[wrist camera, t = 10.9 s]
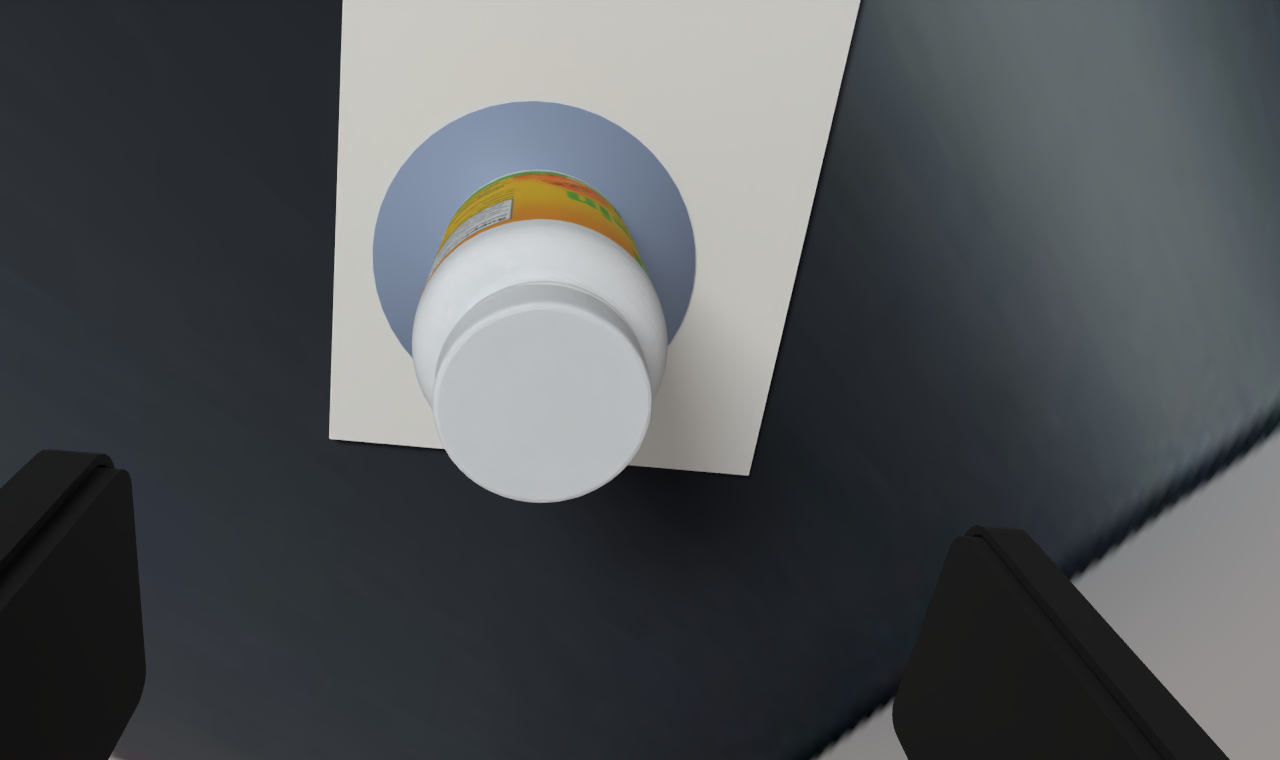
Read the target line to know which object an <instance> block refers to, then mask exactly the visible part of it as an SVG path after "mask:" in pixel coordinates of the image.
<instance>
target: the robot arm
mask: <svg viewBox="0 0 1280 760" xmlns="http://www.w3.org/2000/svg"><path fill="white" fill-rule="evenodd" d="M145 676H146V663H145V651H144V638H143V625H142V612H141V599H140V586H139V573H138V560H137V547H136V534H135V521H134V509H133V496H132V484H131V478H130V475H129V473H128V472H127V471H126V470H124V469H114V465H113V462H112V460H111V458H110V457H109V456H107V455H106V454H98V453H86V452H74V451H62V450H42V451H41V452H39V453H38V454H36V455H35V456H34V457H33V458H32V459H31V460H30V461H29V462H28V463H27V464H26V465H25V466H24V467H23V468H22V469H21V470H19V471H18V472H17V473H16V474H15V475H14V476H13V477H12V478H11V479H10V480H9V481H8V482H7V483H6V484H5V485H4V486H3V487H2V488H1V489H0V760H108V759H109V757H110V755H111V753H112V751H113V750H114V748H115V746H116V744H117V742H118V740H119V738H120V737H121V735H122V733H123V731H124V729H125V727H126V726H127V724H128V722H129V720H130V718H131V716H132V715H133V713H134V711H135V709H136V707H137V705H138V703H139V701H140V698H141V695H142V692H143V687H144V683H145ZM892 716H893V725H894V729H895V732H896V735H897V737H898V739H899V741H900V743H901V745H902V747H903V749H904V751H905V754H906V756H907V758H908V760H1229V758H1228V757H1227V756H1226V755H1225V754H1224V753H1223V752H1222V750H1221V749H1220V748H1219V747H1218V746H1217V745H1216V744H1215V743H1214V741H1213V740H1212V739H1211V738H1210V737H1209V736H1208V735H1207V734H1206V732H1205V731H1204V730H1203V729H1202V728H1201V727H1200V726H1199V725H1198V724H1197V723H1196V721H1195V720H1194V719H1193V718H1192V717H1191V716H1190V715H1189V713H1187V711H1186V710H1185V709H1184V708H1183V707H1182V706H1181V705H1180V703H1179V702H1178V701H1177V700H1176V699H1175V698H1174V697H1173V696H1172V694H1171V693H1170V692H1169V691H1168V690H1167V689H1166V688H1165V687H1164V686H1163V684H1162V683H1161V682H1160V681H1159V680H1158V679H1157V678H1156V677H1155V676H1154V674H1153V673H1152V672H1151V671H1150V670H1149V669H1148V668H1147V667H1146V665H1145V664H1144V663H1143V662H1142V661H1141V660H1140V659H1139V658H1138V657H1137V655H1136V654H1135V653H1134V652H1133V651H1132V650H1131V649H1130V648H1129V646H1127V644H1126V643H1125V642H1124V641H1123V640H1122V639H1121V638H1120V637H1119V635H1118V634H1117V633H1116V632H1115V631H1114V630H1113V629H1112V627H1111V626H1110V625H1109V624H1108V623H1107V622H1106V621H1105V620H1104V619H1103V617H1102V616H1101V615H1100V614H1099V613H1098V612H1097V611H1096V610H1095V609H1094V607H1093V606H1092V605H1091V604H1090V603H1089V602H1088V601H1087V600H1086V599H1085V597H1084V596H1083V595H1082V594H1081V593H1080V592H1079V591H1078V590H1077V588H1076V587H1075V586H1074V585H1073V584H1072V583H1071V582H1070V581H1069V579H1068V578H1067V577H1066V576H1065V575H1064V574H1063V573H1062V572H1061V570H1060V569H1059V568H1058V567H1057V566H1056V565H1055V564H1054V563H1053V562H1052V560H1051V559H1050V558H1049V557H1048V556H1047V555H1046V554H1045V553H1044V551H1043V550H1042V549H1041V548H1040V547H1039V546H1038V545H1037V544H1036V543H1035V541H1034V540H1033V539H1032V538H1031V537H1030V536H1029V535H1028V534H1027V533H1026V532H1024V531H1023V530H1020V529H1014V528H1002V527H990V526H978V525H976V526H974V527H971V528H970V529H969V530H968V531H967V532H966V533H965V535H964V536H960V537H957V538H956V539H955V540H954V541H953V542H952V544H951V546H950V549H949V552H948V554H947V557H946V560H945V563H944V565H943V568H942V571H941V574H940V576H939V579H938V582H937V584H936V587H935V590H934V593H933V595H932V598H931V601H930V604H929V606H928V609H927V612H926V615H925V617H924V620H923V623H922V626H921V628H920V631H919V634H918V637H917V639H916V642H915V645H914V648H913V650H912V653H911V656H910V659H909V661H908V664H907V667H906V670H905V672H904V675H903V678H902V681H901V683H900V686H899V689H898V691H897V694H896V697H895V700H894V704H893V711H892Z"/></svg>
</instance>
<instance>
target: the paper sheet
mask: <svg viewBox="0 0 1280 760" xmlns="http://www.w3.org/2000/svg"><path fill="white" fill-rule="evenodd" d="M859 5H860V0H343V11H342V42H341V74H340V106H339V138H338V170H337V202H336V234H335V266H334V298H333V330H332V362H331V394H330V425H329V439H336V440H347V441H359V442H370V443H381V444H393V445H404V446H416V447H427V448H439V449H445V448H444V447H443V445H442V443H441V441H440V438H439V436H438V433H437V430H436V427H435V423H434V417H433V410H432V409H431V407H430V405H429V404H428V402H427V400H426V399H425V397H424V395H423V393H422V390H421V388H420V386H419V383H418V380H417V377H416V373H415V369H414V363H413V356H412V333H413V325H414V319H415V314H416V310H417V307H418V303H419V300H420V298H421V295H422V293H423V290H424V287H425V285H426V282H427V279H428V276H429V273H430V271H431V268H432V265H433V262H434V259H435V257H436V254H437V251H438V249H439V246H440V244H441V241H442V238H443V236H444V233H445V231H446V229H447V227H448V225H449V222H450V220H451V219H452V217H453V216H454V214H455V213H456V211H457V210H458V208H459V207H460V206H461V205H462V203H463V202H464V201H465V200H466V199H467V198H468V197H469V196H470V195H471V194H472V193H474V192H475V191H476V190H478V189H479V188H481V187H482V186H484V185H485V184H487V183H489V182H490V181H492V180H494V179H496V178H499V177H501V176H504V175H506V174H510V173H513V172H518V171H524V170H537V169H538V170H550V171H557V172H561V173H564V174H567V175H571V176H573V177H576V178H578V179H580V180H582V181H584V182H586V183H588V184H589V185H591V186H592V187H594V188H595V189H597V190H598V191H599V192H601V193H602V194H603V195H604V196H605V197H606V198H607V199H608V200H609V201H610V202H611V203H612V205H613V206H614V207H615V208H616V210H617V211H618V212H619V214H620V216H621V217H622V219H623V220H624V222H625V224H626V226H627V228H628V229H629V232H630V234H631V237H632V239H633V241H634V243H635V246H636V248H637V250H638V253H639V255H640V257H641V260H642V262H643V264H644V266H645V268H646V271H647V273H648V275H649V277H650V280H651V282H652V284H653V286H654V288H655V291H656V293H657V296H658V298H659V300H660V304H661V307H662V310H663V314H664V318H665V322H666V327H667V337H668V349H667V360H666V367H665V371H664V376H663V379H662V382H661V385H660V388H659V390H658V392H657V394H656V396H655V398H654V400H653V409H652V416H651V421H650V425H649V428H648V432H647V434H646V436H645V439H644V441H643V443H642V445H641V447H640V449H639V451H638V452H637V453H636V455H635V456H634V458H633V459H632V461H631V462H630V463H629V464H628V465H633V466H644V467H656V468H667V469H678V470H690V471H701V472H713V473H724V474H736V475H747V476H749V472H750V468H751V464H752V459H753V455H754V451H755V447H756V442H757V438H758V434H759V430H760V425H761V421H762V417H763V413H764V408H765V404H766V400H767V396H768V391H769V387H770V383H771V379H772V374H773V370H774V366H775V362H776V357H777V353H778V349H779V345H780V340H781V336H782V332H783V328H784V323H785V319H786V315H787V311H788V306H789V302H790V298H791V294H792V289H793V285H794V281H795V277H796V272H797V268H798V264H799V260H800V255H801V251H802V247H803V243H804V238H805V234H806V230H807V226H808V221H809V217H810V213H811V209H812V204H813V200H814V196H815V192H816V187H817V183H818V179H819V175H820V170H821V166H822V162H823V158H824V153H825V149H826V145H827V141H828V136H829V132H830V128H831V124H832V119H833V115H834V111H835V107H836V102H837V98H838V94H839V90H840V85H841V81H842V77H843V73H844V68H845V64H846V60H847V56H848V51H849V47H850V43H851V39H852V34H853V30H854V26H855V22H856V17H857V13H858V9H859Z"/></svg>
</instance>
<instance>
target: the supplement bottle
mask: <svg viewBox="0 0 1280 760" xmlns="http://www.w3.org/2000/svg"><path fill="white" fill-rule="evenodd" d="M667 349H668V337H667V327H666V322H665V318H664V314H663V310H662V307H661V304H660V300H659V298H658V296H657V293H656V291H655V288H654V286H653V284H652V282H651V280H650V277H649V275H648V273H647V271H646V268H645V266H644V264H643V262H642V260H641V257H640V255H639V253H638V250H637V248H636V246H635V243H634V241H633V239H632V237H631V234H630V232H629V229H628V228H627V226H626V224H625V222H624V220H623V219H622V217H621V216H620V214H619V212H618V211H617V210H616V208H615V207H614V206H613V205H612V203H611V202H610V201H609V200H608V199H607V198H606V197H605V196H604V195H603V194H602V193H601V192H599V191H598V190H597V189H595V188H594V187H592V186H591V185H589V184H588V183H586V182H584V181H582V180H580V179H578V178H576V177H573V176H571V175H567V174H564V173H561V172H557V171H550V170H538V169H537V170H524V171H518V172H513V173H510V174H506V175H504V176H501V177H499V178H496V179H494V180H492V181H490V182H489V183H487V184H485V185H484V186H482V187H481V188H479V189H478V190H476V191H475V192H474V193H472V194H471V195H470V196H469V197H468V198H467V199H466V200H465V201H464V202H463V203H462V205H461V206H460V207H459V208H458V210H457V211H456V213H455V214H454V216H453V217H452V219H451V220H450V222H449V225H448V227H447V229H446V231H445V233H444V236H443V238H442V241H441V244H440V246H439V249H438V251H437V254H436V257H435V259H434V262H433V265H432V268H431V271H430V273H429V276H428V279H427V282H426V285H425V287H424V290H423V293H422V295H421V298H420V300H419V303H418V307H417V310H416V314H415V319H414V325H413V333H412V356H413V363H414V369H415V373H416V377H417V380H418V383H419V386H420V388H421V390H422V393H423V395H424V397H425V399H426V400H427V402H428V404H429V405H430V407H431V409H432V410H433V417H434V423H435V427H436V430H437V433H438V436H439V438H440V441H441V443H442V445H443V447H444V448H445V450H446V452H447V453H448V455H449V457H450V458H451V459H452V461H453V462H454V463H455V464H456V466H457V467H458V468H459V469H460V470H461V471H462V472H463V473H464V474H465V475H466V476H467V477H469V478H470V479H471V480H473V481H474V482H475V483H477V484H478V485H480V486H481V487H483V488H485V489H486V490H489V491H491V492H493V493H496V494H498V495H501V496H503V497H506V498H510V499H514V500H519V501H525V502H534V503H546V502H559V501H564V500H568V499H573V498H577V497H579V496H582V495H585V494H588V493H590V492H592V491H594V490H596V489H598V488H599V487H601V486H603V485H605V484H606V483H608V482H610V481H611V480H612V479H613V478H614V477H616V476H617V475H618V474H619V473H621V472H622V470H623V469H624V468H625V467H626V466H627V465H628V464H629V463H630V462H631V461H632V459H633V458H634V456H635V455H636V453H637V452H638V451H639V449H640V447H641V445H642V443H643V441H644V439H645V436H646V434H647V432H648V428H649V425H650V421H651V416H652V409H653V400H654V398H655V396H656V394H657V392H658V390H659V388H660V385H661V382H662V379H663V376H664V371H665V367H666V360H667Z"/></svg>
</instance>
